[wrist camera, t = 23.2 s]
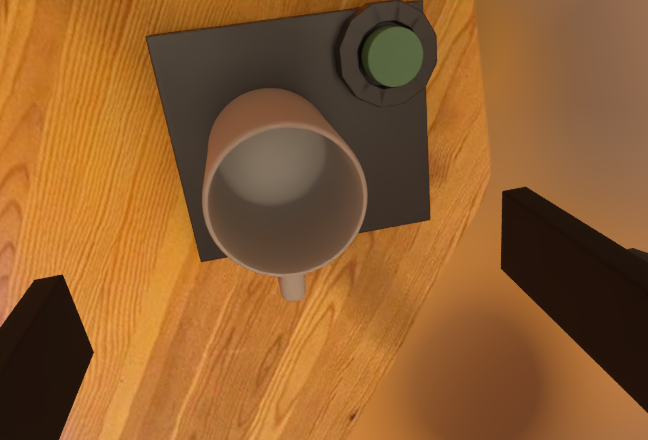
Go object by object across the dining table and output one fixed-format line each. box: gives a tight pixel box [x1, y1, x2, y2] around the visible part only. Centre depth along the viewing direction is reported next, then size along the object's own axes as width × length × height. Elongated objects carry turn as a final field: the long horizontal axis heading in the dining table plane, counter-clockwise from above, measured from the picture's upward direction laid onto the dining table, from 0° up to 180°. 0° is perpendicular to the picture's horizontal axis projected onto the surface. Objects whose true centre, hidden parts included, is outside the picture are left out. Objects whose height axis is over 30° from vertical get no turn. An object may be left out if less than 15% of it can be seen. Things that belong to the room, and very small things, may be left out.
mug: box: [202, 88, 367, 302], centre depth 31 cm, size 12×8×11 cm
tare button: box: [361, 26, 423, 87], centre depth 32 cm, size 4×4×2 cm
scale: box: [146, 0, 437, 262], centre depth 35 cm, size 18×16×4 cm
